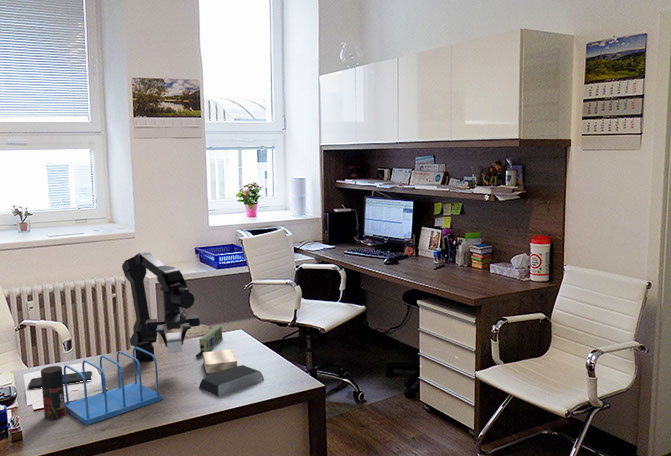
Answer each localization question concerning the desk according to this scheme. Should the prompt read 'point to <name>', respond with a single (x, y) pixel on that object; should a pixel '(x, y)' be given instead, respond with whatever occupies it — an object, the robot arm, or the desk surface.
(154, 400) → the file sorter
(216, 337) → the handheld radio
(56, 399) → the deodorant
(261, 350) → the desk surface
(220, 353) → the cream rectangular block
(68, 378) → the smart home device
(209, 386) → the external hard drive
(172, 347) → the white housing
